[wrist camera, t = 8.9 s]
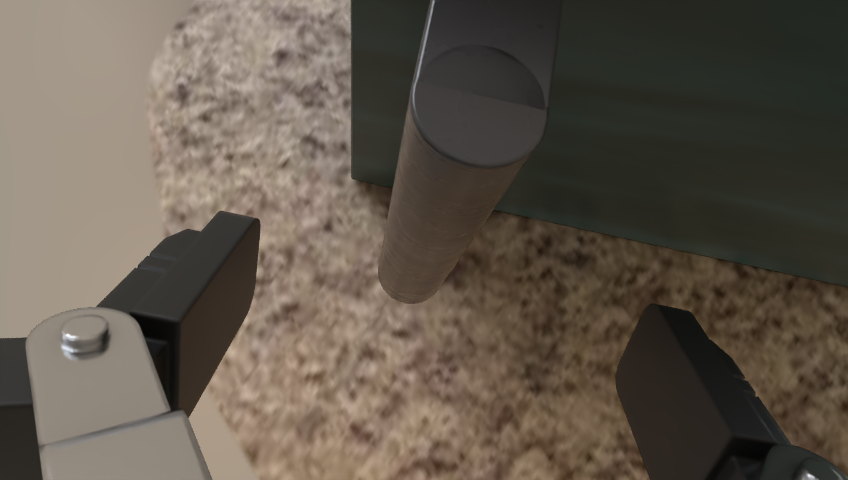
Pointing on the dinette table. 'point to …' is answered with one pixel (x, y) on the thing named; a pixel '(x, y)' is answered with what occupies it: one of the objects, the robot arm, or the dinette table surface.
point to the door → (605, 126)
